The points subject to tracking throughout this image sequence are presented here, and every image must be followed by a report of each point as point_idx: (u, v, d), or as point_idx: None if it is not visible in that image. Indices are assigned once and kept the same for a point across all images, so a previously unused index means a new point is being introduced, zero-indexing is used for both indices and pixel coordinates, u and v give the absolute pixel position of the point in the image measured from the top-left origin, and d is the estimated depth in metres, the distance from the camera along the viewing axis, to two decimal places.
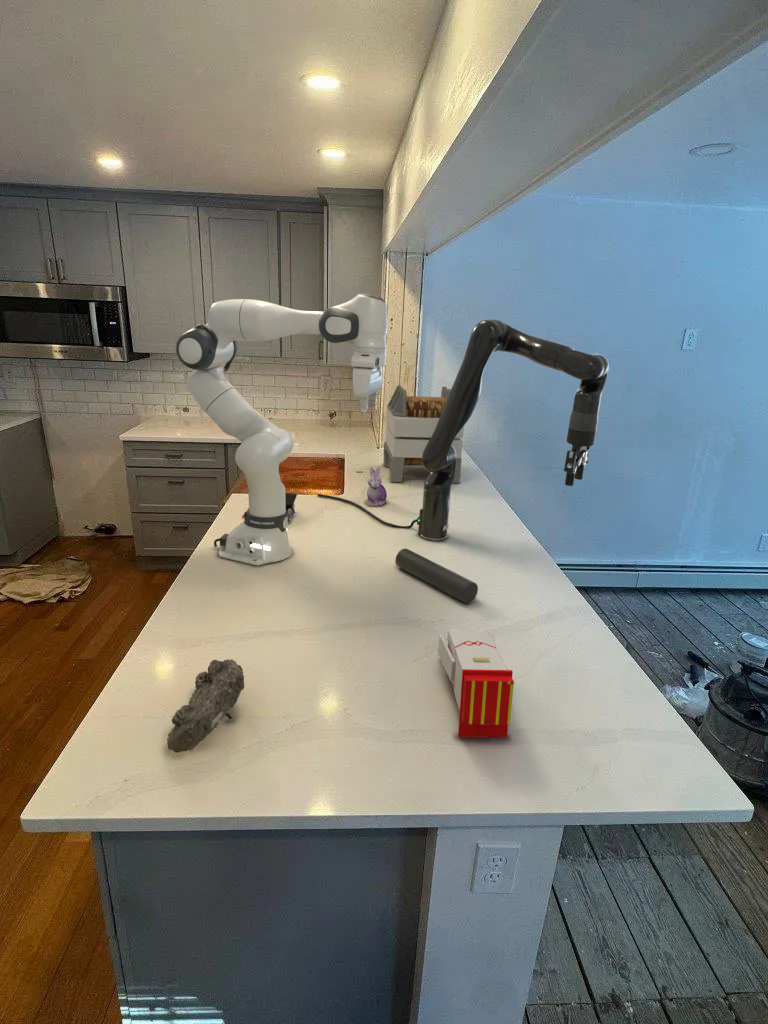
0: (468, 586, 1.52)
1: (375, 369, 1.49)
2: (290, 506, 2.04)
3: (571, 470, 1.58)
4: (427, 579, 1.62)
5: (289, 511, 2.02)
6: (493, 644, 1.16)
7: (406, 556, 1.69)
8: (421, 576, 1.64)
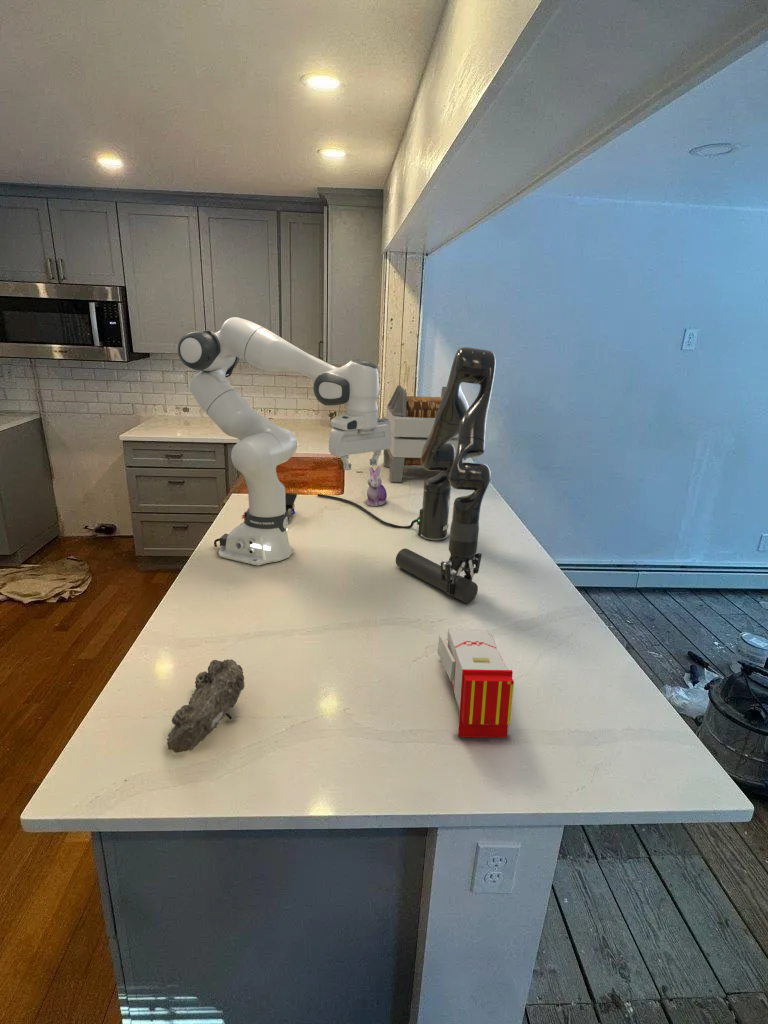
0: (468, 586, 1.52)
1: (352, 431, 1.55)
2: (290, 506, 2.04)
3: (446, 581, 1.51)
4: (427, 579, 1.62)
5: (289, 511, 2.02)
6: (493, 644, 1.16)
7: (406, 556, 1.69)
8: (421, 576, 1.64)
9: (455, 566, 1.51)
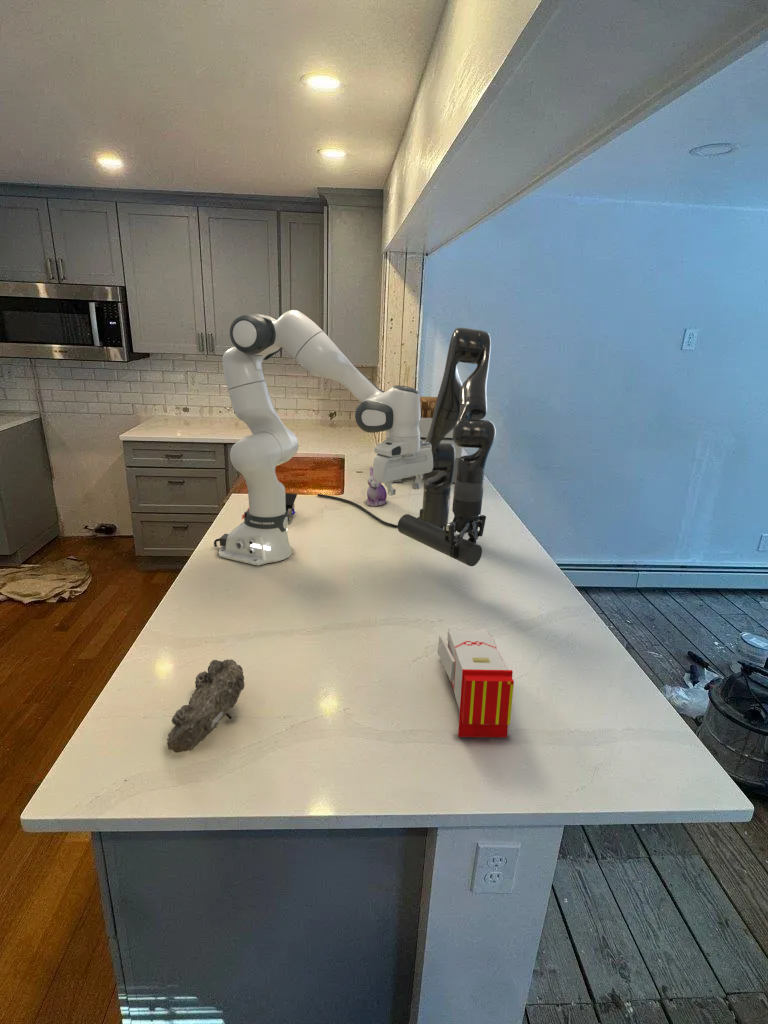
0: (472, 548, 1.49)
1: (396, 457, 1.55)
2: (290, 506, 2.04)
3: (450, 543, 1.47)
4: (430, 543, 1.58)
5: (289, 511, 2.02)
6: (493, 644, 1.16)
7: (408, 521, 1.65)
8: (424, 540, 1.60)
9: (459, 527, 1.48)
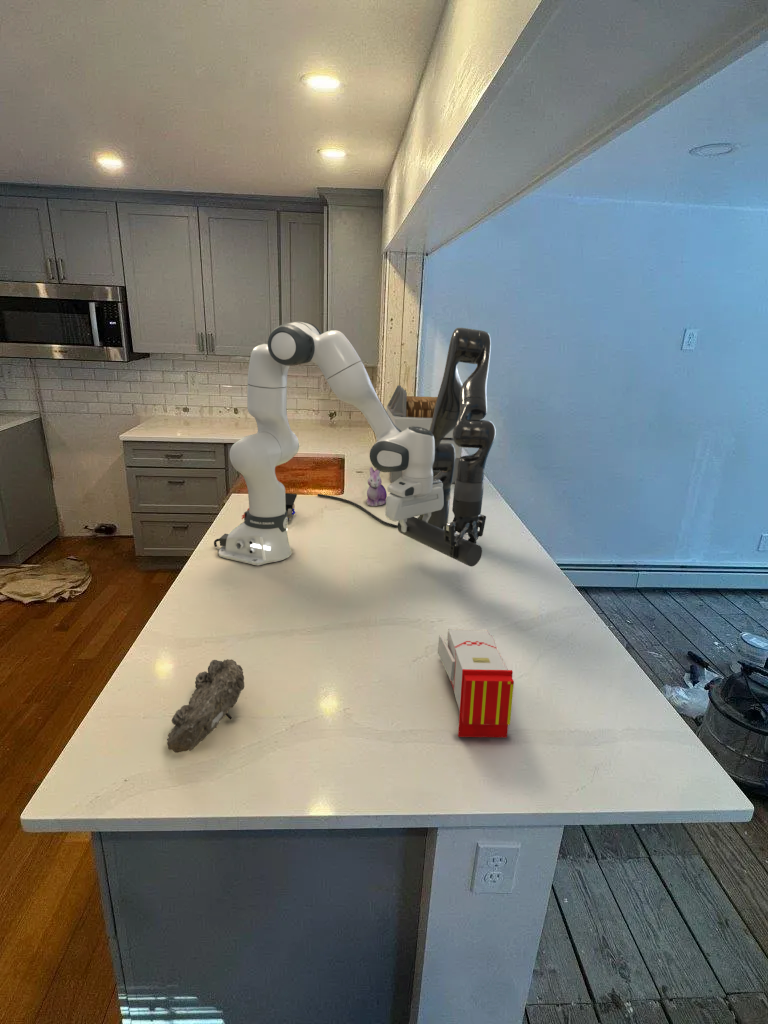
0: (472, 548, 1.49)
1: (409, 497, 1.58)
2: (290, 506, 2.04)
3: (450, 543, 1.47)
4: (430, 543, 1.58)
5: (289, 511, 2.02)
6: (493, 644, 1.16)
7: (408, 522, 1.65)
8: (424, 541, 1.60)
9: (459, 527, 1.48)
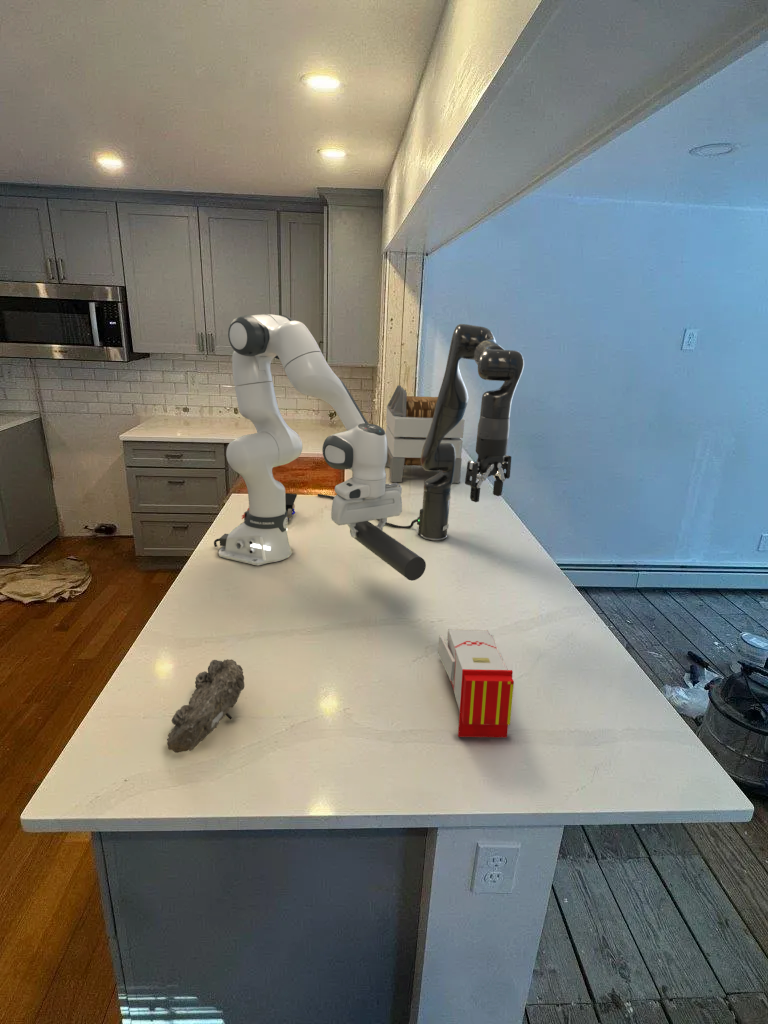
0: (412, 561, 1.34)
1: (356, 500, 1.45)
2: (290, 506, 2.04)
3: (471, 483, 1.36)
4: (375, 552, 1.45)
5: (289, 511, 2.02)
6: (493, 644, 1.16)
7: (359, 526, 1.53)
8: (370, 548, 1.47)
9: (483, 467, 1.37)
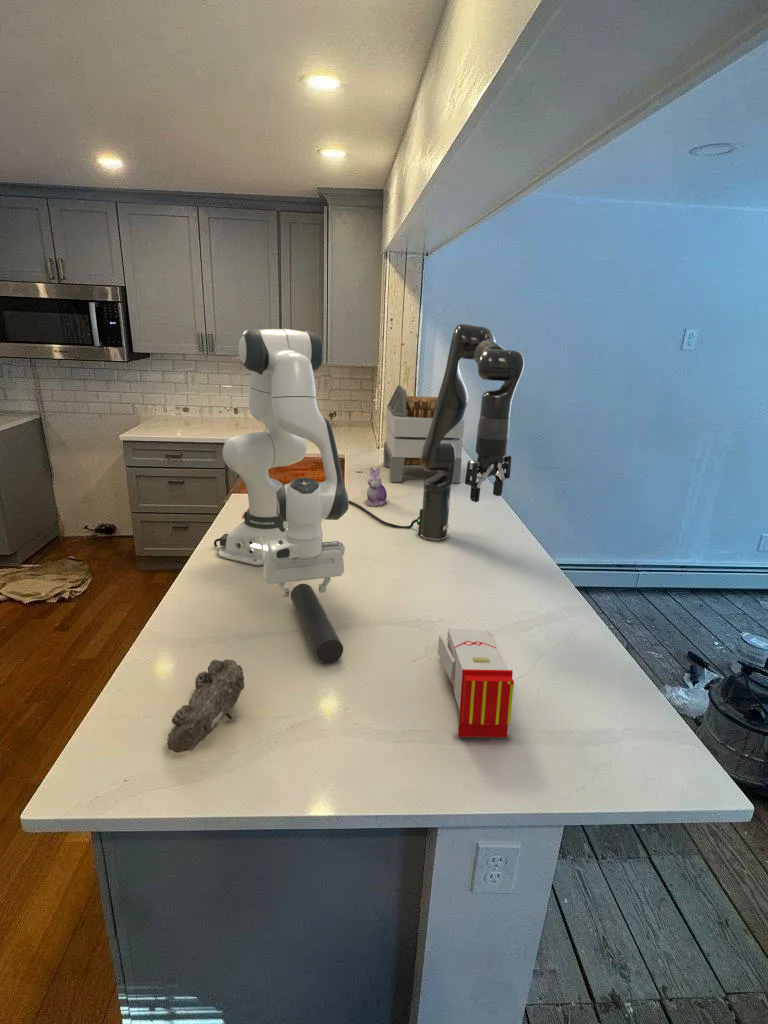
0: (325, 643, 1.24)
1: (285, 559, 1.37)
2: None
3: (471, 483, 1.36)
4: (303, 625, 1.36)
5: None
6: (493, 644, 1.16)
7: (297, 594, 1.44)
8: None
9: (483, 467, 1.37)
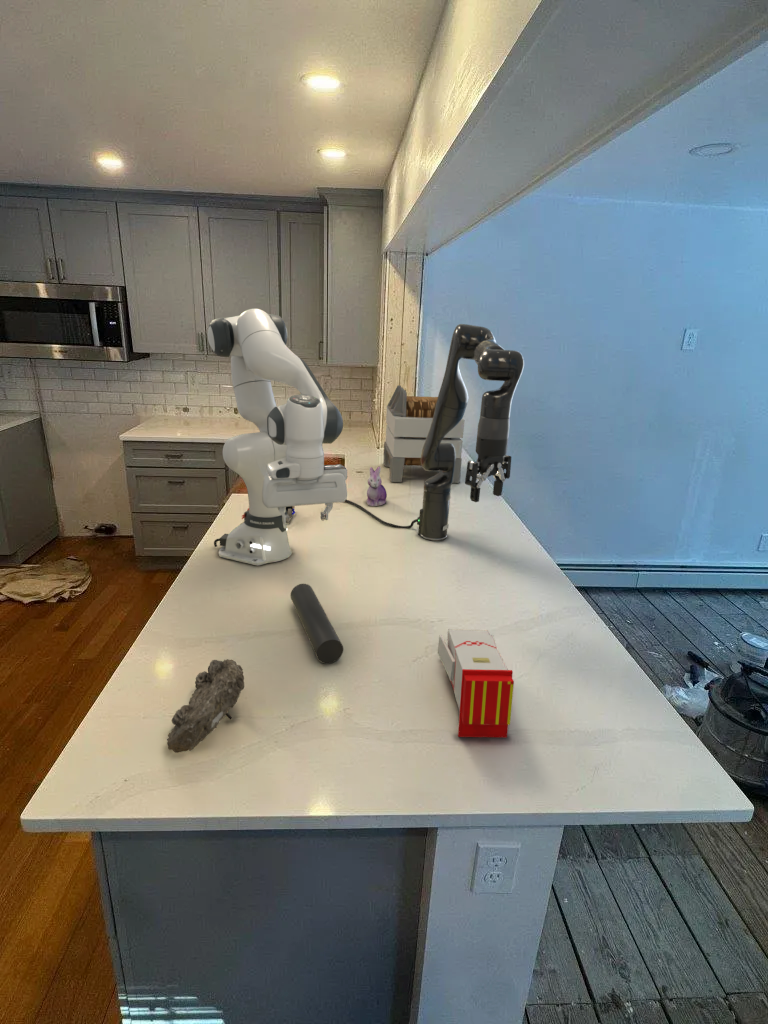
0: (325, 643, 1.24)
1: (285, 480, 1.30)
2: (290, 506, 2.04)
3: (471, 483, 1.36)
4: (303, 625, 1.36)
5: (289, 511, 2.02)
6: (493, 644, 1.16)
7: (297, 594, 1.44)
8: None
9: (483, 467, 1.37)
